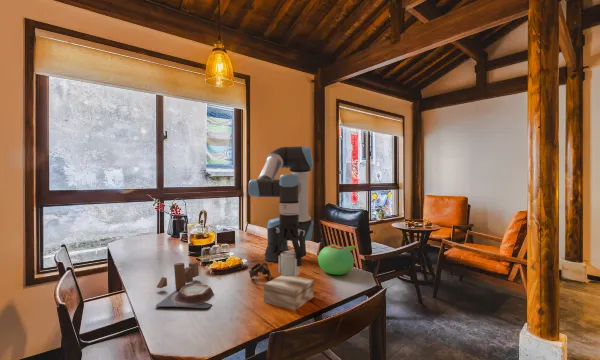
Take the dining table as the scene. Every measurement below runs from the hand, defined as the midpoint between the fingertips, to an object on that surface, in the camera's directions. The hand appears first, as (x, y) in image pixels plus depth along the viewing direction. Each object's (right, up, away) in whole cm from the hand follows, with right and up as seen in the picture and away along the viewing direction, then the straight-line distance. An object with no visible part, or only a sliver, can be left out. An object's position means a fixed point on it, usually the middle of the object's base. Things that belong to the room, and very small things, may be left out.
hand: (288, 272), depth 111 cm
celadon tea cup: (0, 0, 0) cm, 0 cm away
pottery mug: (-12, -11, +24) cm, 29 cm away
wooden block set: (-47, -10, +14) cm, 50 cm away
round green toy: (+22, -10, +30) cm, 39 cm away
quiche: (-38, -11, +3) cm, 40 cm away
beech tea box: (0, -10, 0) cm, 10 cm away
